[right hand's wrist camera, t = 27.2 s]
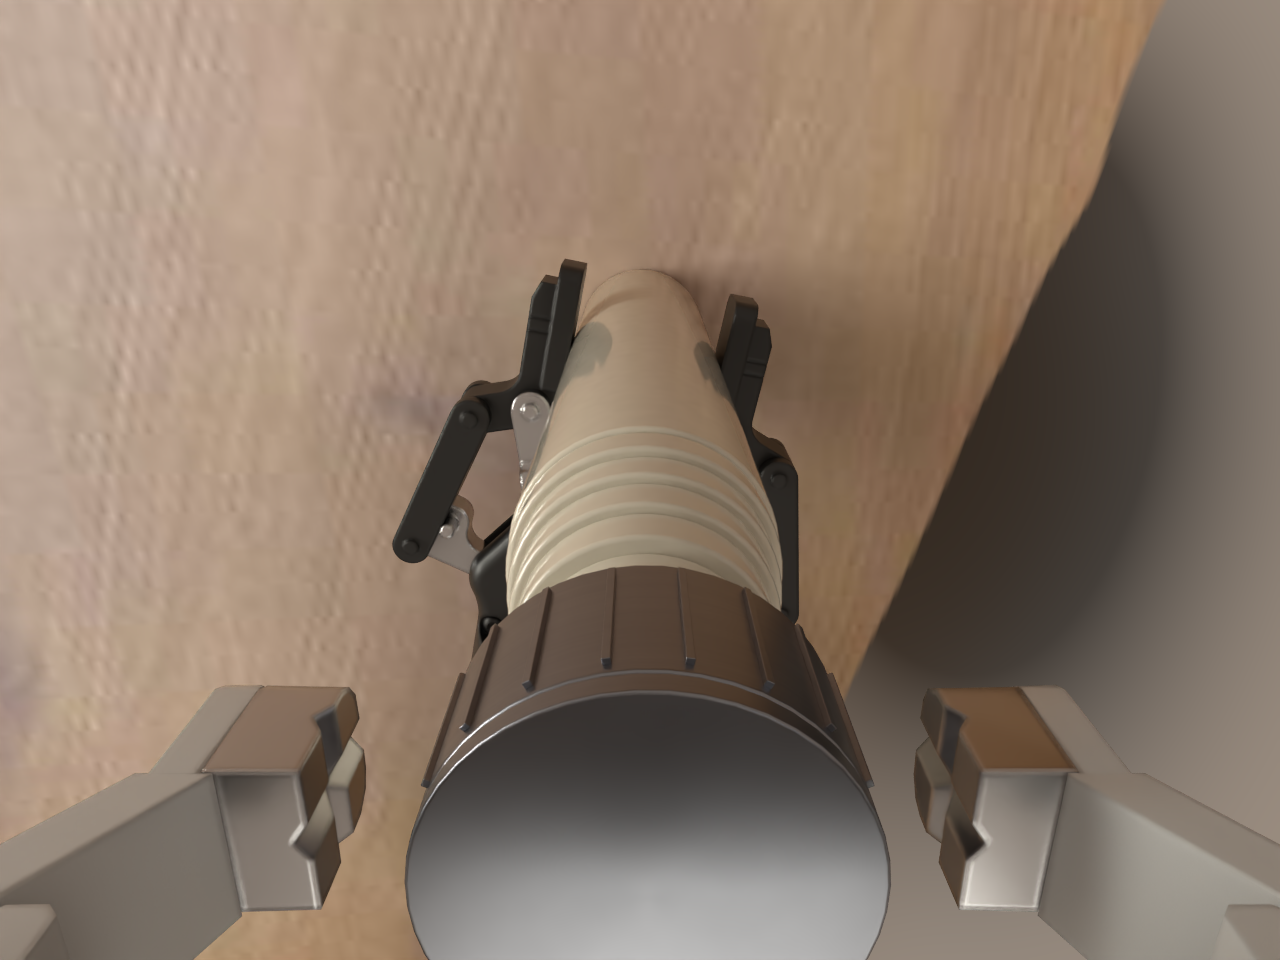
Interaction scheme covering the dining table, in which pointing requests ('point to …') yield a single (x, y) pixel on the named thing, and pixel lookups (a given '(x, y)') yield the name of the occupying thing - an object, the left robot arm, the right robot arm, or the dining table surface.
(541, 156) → the dining table surface
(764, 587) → the bottle
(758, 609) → the cap
